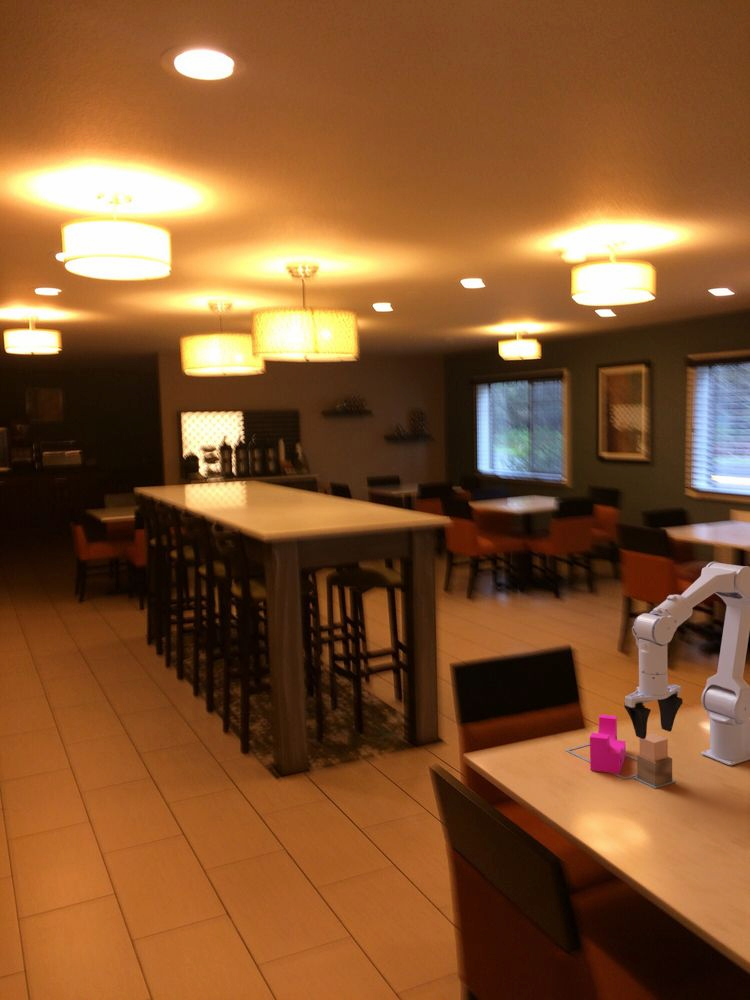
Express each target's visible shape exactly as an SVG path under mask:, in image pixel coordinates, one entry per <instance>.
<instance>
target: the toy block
mask: <svg viewBox="0 0 750 1000" xmlns="http://www.w3.org/2000/svg"><path fill="white" fill-rule="evenodd" d="M626 743H627V742H626V740H619V739H618V717H617V715H610V714H600V715H599V716H598V732H591V733H590V736H589V744H590V745H589V750H590V751H589V761H590V762H589V766H590V771H597V772H604V773H610V774H612V773H616V774H618V775H621V772H622V768H623V765H624V763H625V760H626V757H627V756H626V754H627V750H626V749H627V748H626V745H627V744H626Z"/></svg>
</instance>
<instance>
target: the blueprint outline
mask: <svg viewBox="0 0 750 1000" xmlns="http://www.w3.org/2000/svg"><path fill="white" fill-rule="evenodd" d="M588 746H590V743H587V744H584V745H579V746H575V747H571V748H569V749H566V750H565V752H568V753H569V754H572V755H574V756H576V757H578V758H580V759H582V760H584V761H586V762H588V763H590V759H587V758H585V757H584V756H581V755H578V754H576V753H575V752H572V751H574V750H577V749H580V748H584V747H588ZM626 757H628V758H629V759H632V760H634V761H636V762H637V757H636V758H635V757H633V756H630V755H629V754H627V753H626ZM611 774H612V775H614V776H617V777H619V778H621V779H623V780H625V779H626V780H629V779H631V778H633V779H634V780H636V781H639V782H641V783H643V784H645V785H646V786H649V787H650V788H652V789H654V790H655V789H658V788H662V787H666V786H667V785H670V784H673V783H676V780H675V779H672V781H671V782H668V783H665V784H662V785H659V786H653V785H651V784H649V783H647V782H645V781H643V780H641V779H638V778H637V773H636V774H632V775H629V776H626V777H624V776H622V775H621V774H617V773H611Z"/></svg>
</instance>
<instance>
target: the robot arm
mask: <svg viewBox="0 0 750 1000" xmlns="http://www.w3.org/2000/svg"><path fill="white" fill-rule="evenodd" d="M714 594H716V595H717V596H718V597H720V599H722V601H723V602H724V603H725V605H726V610H725V614H724V615H725V616H724V621H723V622H724V623H723V631H722V637H721V644H720V652H719V658H718V665H717V672H716V673H715V674H714V675H711V676H709V677H708V678H707V679H706V684H705V688H704V689H703V691H702V693H701V697H700V698H701V699H700V700H701V705H702V709H704V711H706V716H708V717H709V749H706V750H702V751H701V752H700V754H701V755H702V756H706V757H708V758H710V759H712V760H715V761H718V762H720V763H723V764H724V765H727V766H734V765H737V764H740V763H743V762H746V761H750V685H749V684H748V683H747V682H746V680H745V679H744V672H745V665H746V658H747V657H746V656H747V651H748V643H749V637H750V566H748V565H745V566H744V565H743V566H742V565H737V564H729V563H721V562H718V561H711V562H709V563H708V564H706V566H704V567H703V568H702V569H701V573H700V576H699V577H698V578H697V579H696V580H695V581H694V582H693V583H692V584H691V585H690V586H688V588H686V590H684V591H683V592H682V594H669V595H668V596H667V597H666V599H665V600H664V601H663V602H661V603H660V604H659V605H657V606H656V607H655V608H653V609H652V610H651V611H650V612H649V613H648V612H645V613H644V612H643V613H641V614H640V615H638V616H637V617H636V618H635V620H634V622H633V626H632V627H631V631H632V635H633V637H634V638H635V645H636V646H637V648H638V686H636V690H635V691H634V692H632V693H630V694H628V695H625V696H624V703H623V704H624V706H623V707H624V709H625V710H626V713H628V716H629V717H630V720H631V723H632V726H633V729H634V733H635V736H636V737H637V738H642V739H645V738H646V735H648V733H647V729H648V728H647V727H648V720H649V717H650V713H651V711H652V709H651V708H648V707H645V705H644V704H646V703H651V702H653V701H657V704H658V707H659V717H660V727H661V729H662V730H663V731H667V732H672V729H673V727H674V723H675V719H676V716H677V713H678V711H679V710H680V708H681V707H682V705H683V698H682V697H680V696H681V695H682V686H681V685H677V684H669V683H668V682H669V681H668V680H669V679H668V677H669V676H668V674H669V673H668V643H670V642H671V641H672V639H673V637H674V634H675V632H676V631H677V629H678V627H679V626H681V625H682V624H683V623H684V622H685V621H687V620H688V619H689V618H690V617H692V615H693V608H694V607H696V606H697V605H698V604H700V603H701V602H703V601H704V600H706V599H707V598H709V597H711V596H712V595H714ZM678 696H679V697H678Z"/></svg>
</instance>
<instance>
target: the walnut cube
mask: <svg viewBox="0 0 750 1000" xmlns="http://www.w3.org/2000/svg"><path fill="white" fill-rule="evenodd" d="M636 759H637V761H636V774H637V778H638V779H641V780H643V781H645V782H647V783H649V784H651V785H653V786H659V785H662V784H665V783H668V782H671V781H672V780H673V758H672V757H670V756H668V757H667V758H664V759H661V760H658V761H652V760H650V759H647V758H645V757H643V756H640V754H636Z"/></svg>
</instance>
